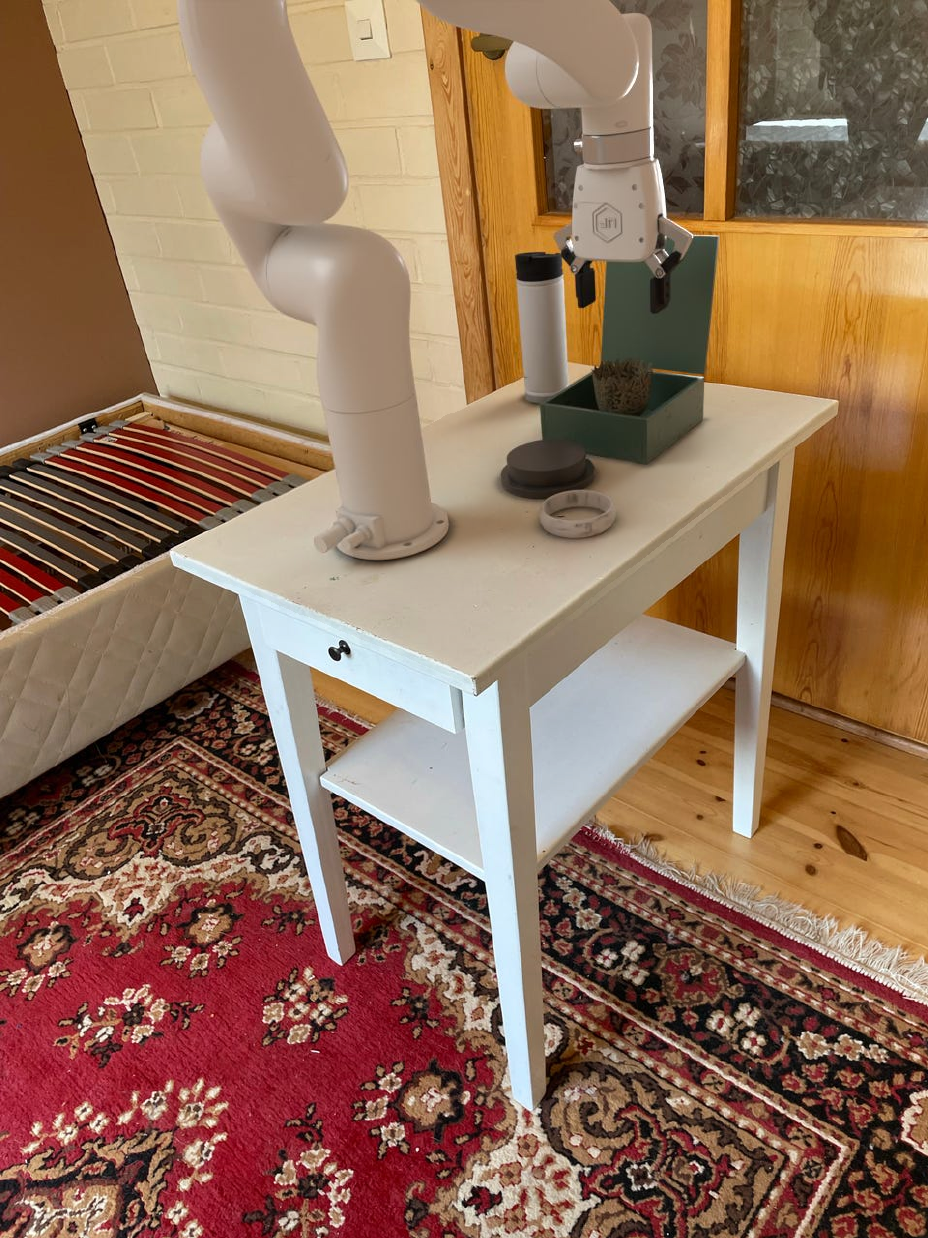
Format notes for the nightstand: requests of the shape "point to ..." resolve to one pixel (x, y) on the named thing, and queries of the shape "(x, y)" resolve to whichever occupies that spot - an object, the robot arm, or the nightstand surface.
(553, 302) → the travel mug
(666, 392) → the tin
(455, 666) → the nightstand surface
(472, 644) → the nightstand surface
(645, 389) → the cup
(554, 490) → the stand
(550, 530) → the ring
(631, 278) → the tin lid
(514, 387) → the nightstand surface
